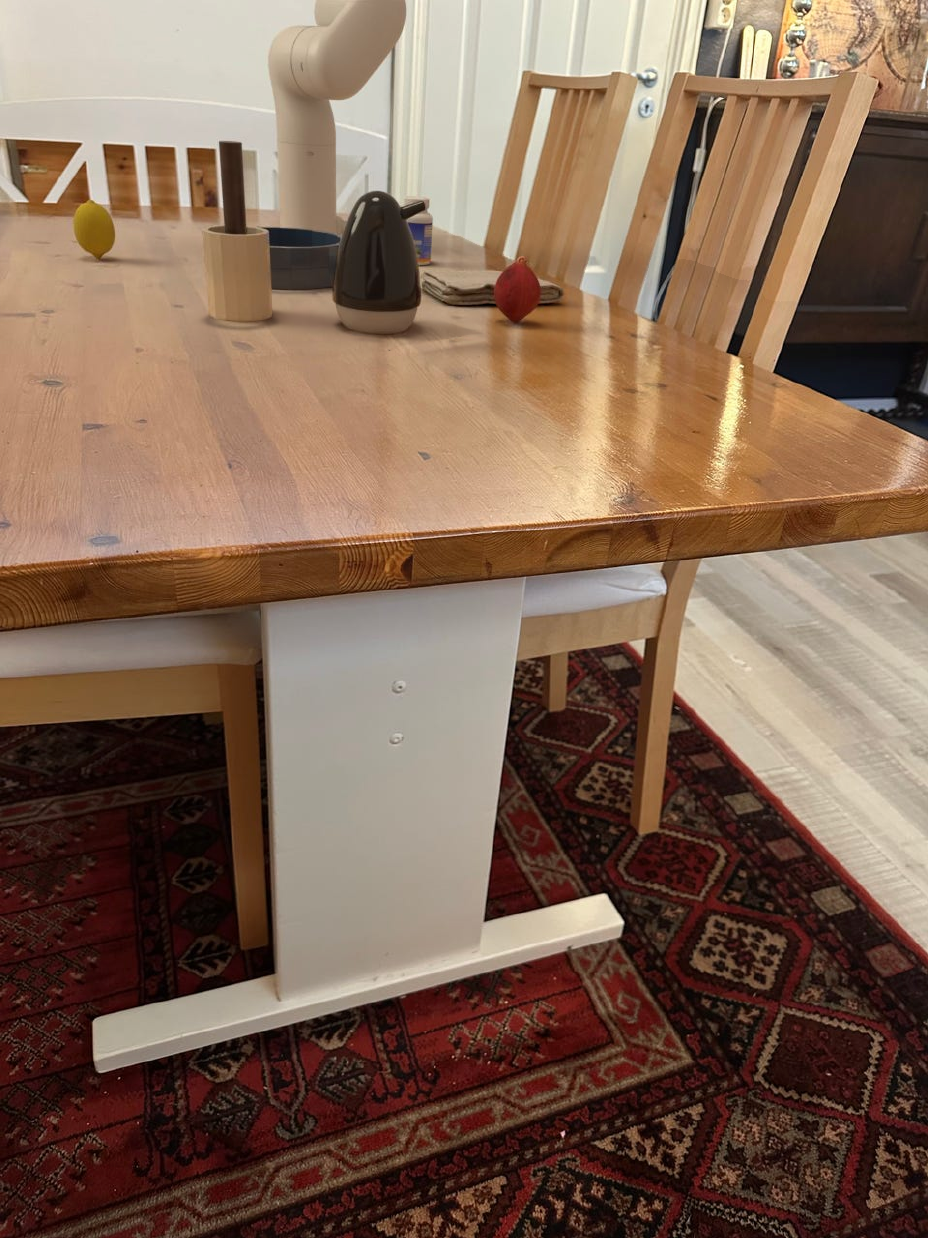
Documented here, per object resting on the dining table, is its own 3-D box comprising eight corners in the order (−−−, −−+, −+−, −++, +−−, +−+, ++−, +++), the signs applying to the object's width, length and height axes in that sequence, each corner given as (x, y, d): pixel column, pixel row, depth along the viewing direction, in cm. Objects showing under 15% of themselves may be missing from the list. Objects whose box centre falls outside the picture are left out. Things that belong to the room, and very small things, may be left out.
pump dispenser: (428, 344, 102) (434, 198, 95) (336, 343, 100) (335, 193, 92) (414, 322, 111) (418, 187, 103) (329, 321, 109) (327, 182, 101)
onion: (505, 329, 111) (511, 260, 107) (483, 318, 115) (488, 252, 111) (545, 327, 114) (552, 260, 110) (522, 316, 118) (528, 251, 114)
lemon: (110, 263, 130) (102, 203, 126) (72, 260, 130) (63, 200, 126) (123, 257, 135) (116, 198, 131) (86, 254, 135) (78, 195, 131)
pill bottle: (391, 262, 145) (393, 196, 140) (406, 258, 150) (408, 194, 145) (422, 267, 144) (425, 200, 139) (436, 262, 148) (438, 197, 143)
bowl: (302, 266, 137) (301, 224, 134) (372, 288, 127) (372, 243, 124) (197, 275, 127) (193, 229, 124) (264, 300, 116) (261, 251, 113)
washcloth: (415, 288, 129) (416, 265, 127) (528, 287, 135) (530, 265, 133) (444, 307, 120) (445, 283, 118) (564, 305, 126) (566, 282, 124)
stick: (244, 310, 107) (234, 140, 98) (255, 314, 106) (246, 142, 97) (226, 312, 106) (214, 140, 97) (237, 316, 104) (225, 142, 95)
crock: (251, 311, 111) (246, 223, 105) (284, 324, 106) (280, 233, 101) (198, 317, 106) (190, 226, 101) (229, 330, 102) (223, 236, 97)
